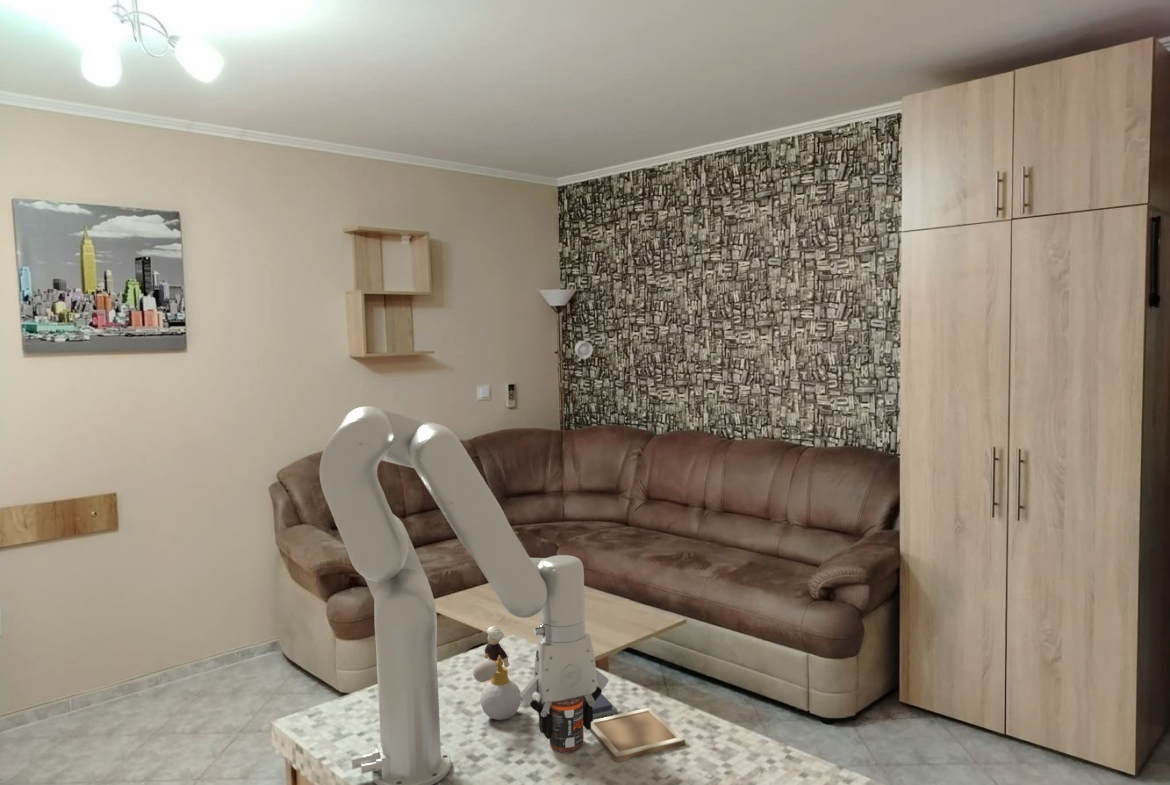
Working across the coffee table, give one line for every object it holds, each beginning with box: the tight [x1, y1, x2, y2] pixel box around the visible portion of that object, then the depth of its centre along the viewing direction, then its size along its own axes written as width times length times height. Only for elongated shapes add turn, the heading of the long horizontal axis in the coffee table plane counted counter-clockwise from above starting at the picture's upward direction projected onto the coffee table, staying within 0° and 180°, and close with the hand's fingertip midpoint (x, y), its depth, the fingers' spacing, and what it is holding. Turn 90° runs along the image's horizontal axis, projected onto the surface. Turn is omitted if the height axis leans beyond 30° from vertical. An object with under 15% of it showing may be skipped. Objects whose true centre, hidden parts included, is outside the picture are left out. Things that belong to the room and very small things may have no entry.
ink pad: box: [593, 692, 618, 720], centre depth 149 cm, size 11×11×2 cm
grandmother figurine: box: [483, 625, 510, 688], centre depth 158 cm, size 8×4×13 cm, turn 55°
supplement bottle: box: [548, 697, 585, 753], centre depth 135 cm, size 6×6×11 cm
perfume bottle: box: [472, 655, 522, 721], centre depth 145 cm, size 8×10×12 cm
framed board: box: [589, 706, 686, 763], centre depth 138 cm, size 13×13×1 cm
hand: (566, 729), depth 135 cm, fingers open, 6 cm apart
